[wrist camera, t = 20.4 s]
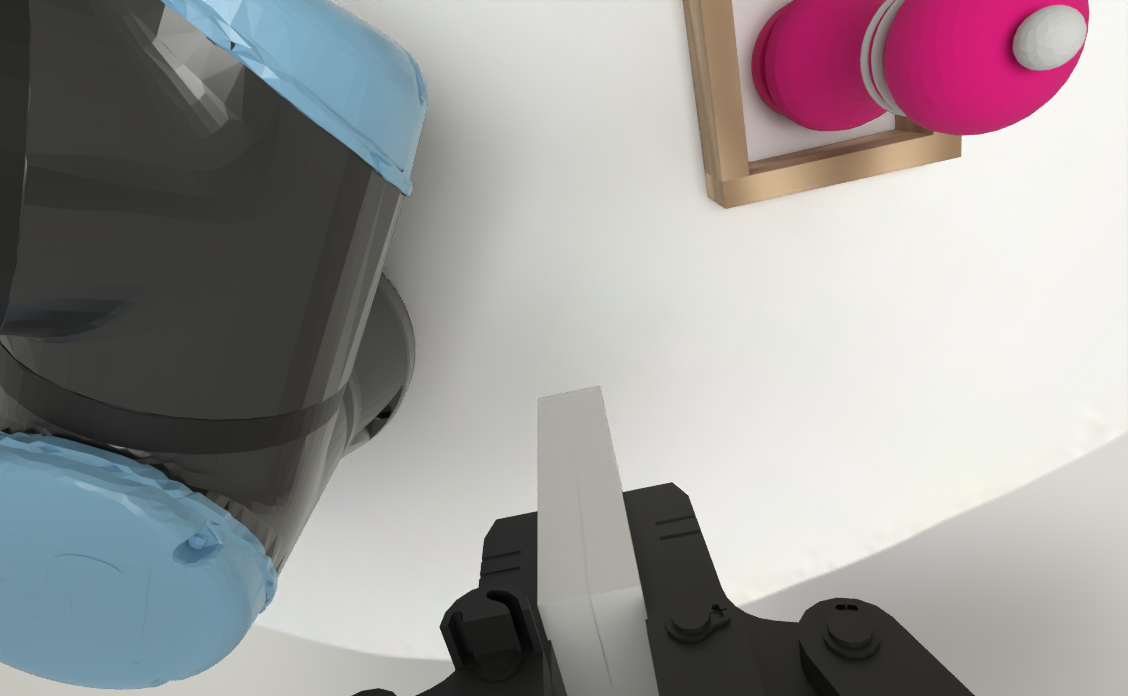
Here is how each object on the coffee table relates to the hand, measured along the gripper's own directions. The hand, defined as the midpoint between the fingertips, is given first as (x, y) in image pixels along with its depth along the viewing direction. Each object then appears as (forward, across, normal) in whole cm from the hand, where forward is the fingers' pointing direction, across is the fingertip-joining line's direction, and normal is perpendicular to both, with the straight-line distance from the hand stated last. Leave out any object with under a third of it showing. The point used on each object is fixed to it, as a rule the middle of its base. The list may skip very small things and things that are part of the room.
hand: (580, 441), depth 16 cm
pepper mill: (+27, +16, +6) cm, 32 cm away
